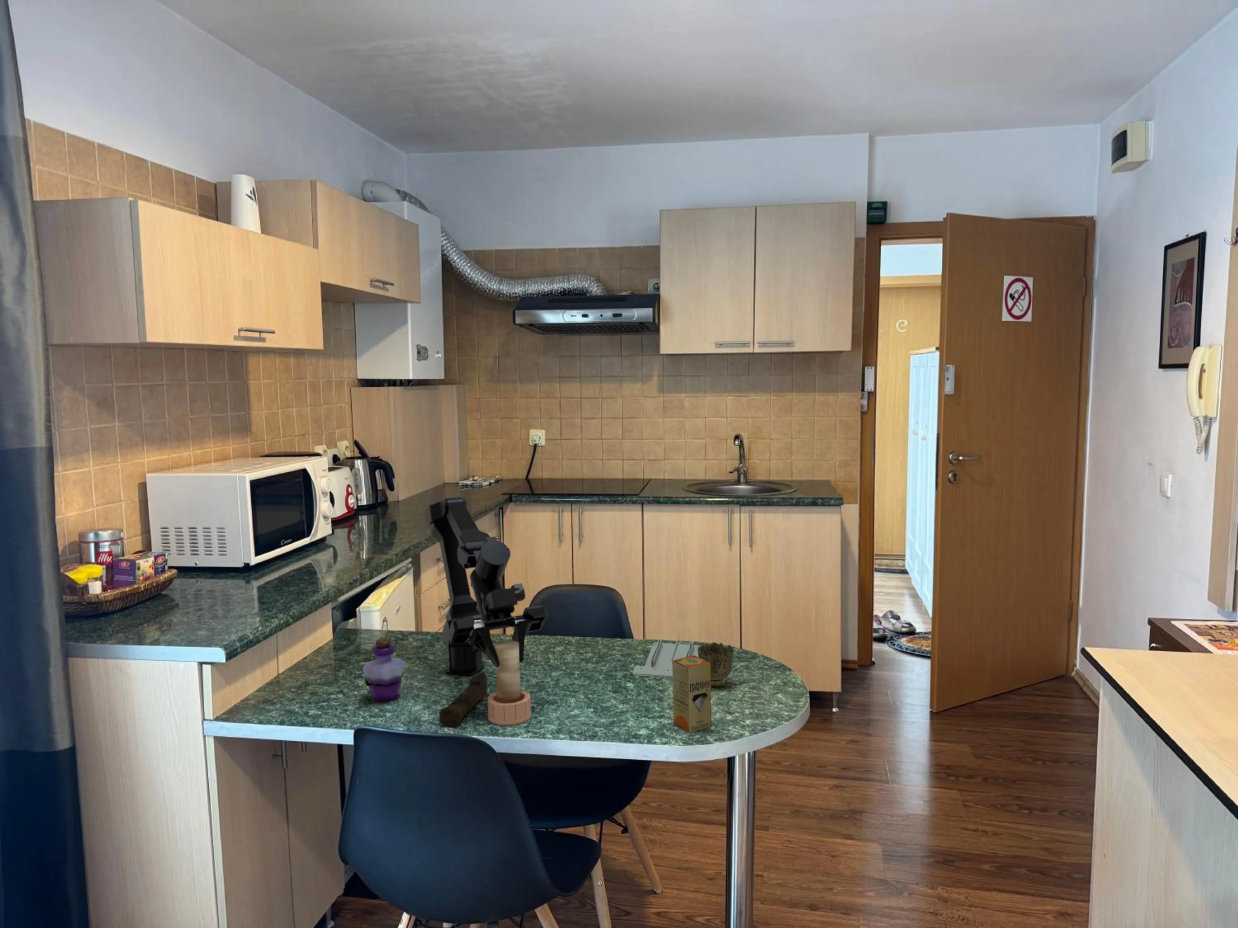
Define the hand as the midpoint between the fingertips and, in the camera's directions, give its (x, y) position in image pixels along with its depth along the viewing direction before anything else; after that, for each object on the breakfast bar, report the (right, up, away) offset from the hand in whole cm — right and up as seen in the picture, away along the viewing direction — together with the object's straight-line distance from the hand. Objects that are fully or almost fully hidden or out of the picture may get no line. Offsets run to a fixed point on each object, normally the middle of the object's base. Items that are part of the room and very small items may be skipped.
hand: (510, 663), depth 159 cm
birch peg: (0, -6, +2) cm, 7 cm away
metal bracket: (+32, -8, +28) cm, 43 cm away
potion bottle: (-27, -10, +14) cm, 32 cm away
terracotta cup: (0, -11, +2) cm, 11 cm away
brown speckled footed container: (+41, -8, +16) cm, 45 cm away
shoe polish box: (+34, -11, -3) cm, 36 cm away
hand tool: (-10, -11, +7) cm, 16 cm away
